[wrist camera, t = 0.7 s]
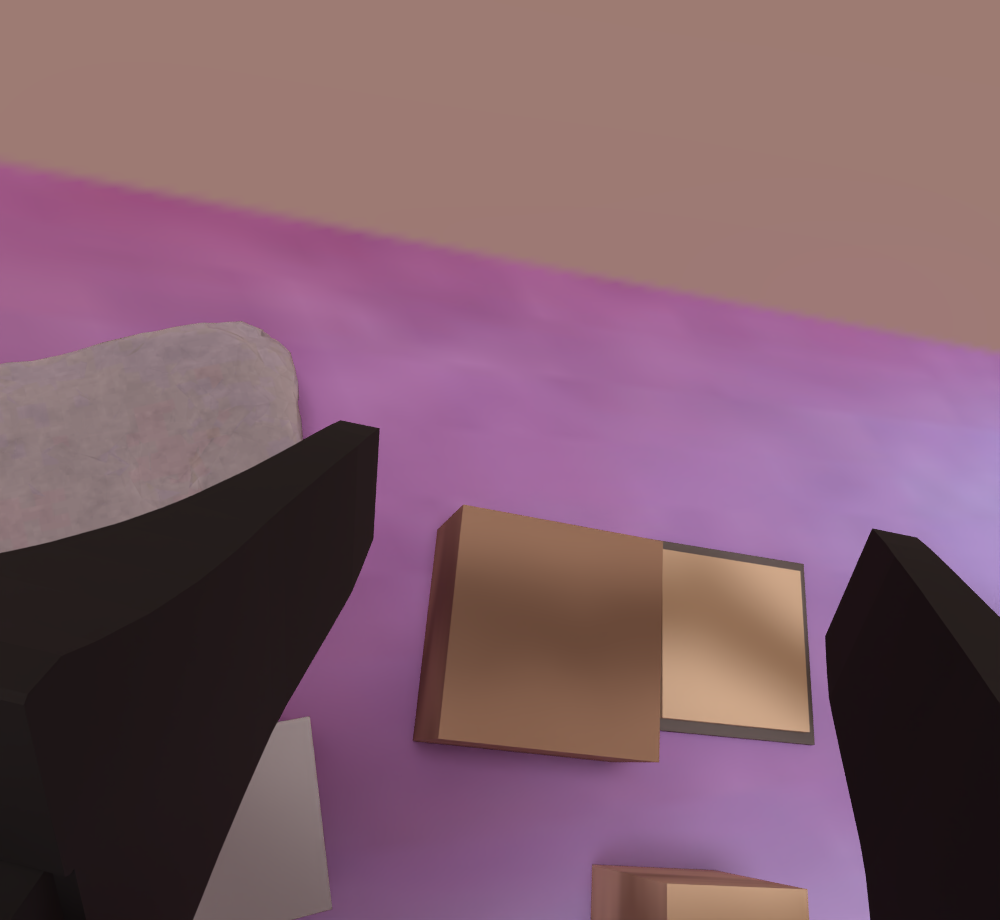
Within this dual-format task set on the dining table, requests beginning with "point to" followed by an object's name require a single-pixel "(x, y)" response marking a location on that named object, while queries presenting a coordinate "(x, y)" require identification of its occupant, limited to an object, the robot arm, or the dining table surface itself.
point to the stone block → (137, 426)
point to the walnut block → (542, 639)
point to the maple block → (690, 895)
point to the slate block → (274, 839)
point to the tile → (734, 646)
